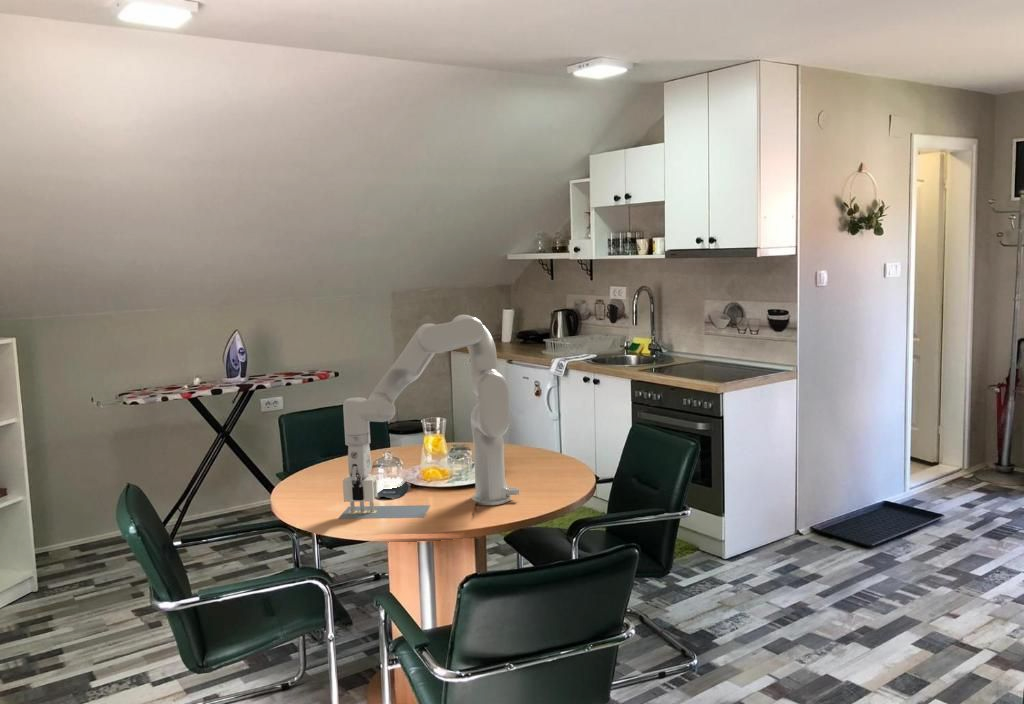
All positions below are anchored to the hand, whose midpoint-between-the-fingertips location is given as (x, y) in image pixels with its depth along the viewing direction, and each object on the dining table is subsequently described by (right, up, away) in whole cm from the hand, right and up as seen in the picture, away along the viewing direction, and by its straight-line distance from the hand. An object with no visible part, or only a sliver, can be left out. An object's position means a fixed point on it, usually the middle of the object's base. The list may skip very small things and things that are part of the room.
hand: (360, 496), depth 256 cm
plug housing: (0, -1, 0) cm, 1 cm away
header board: (+7, -6, 0) cm, 9 cm away
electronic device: (+7, -4, +20) cm, 22 cm away
